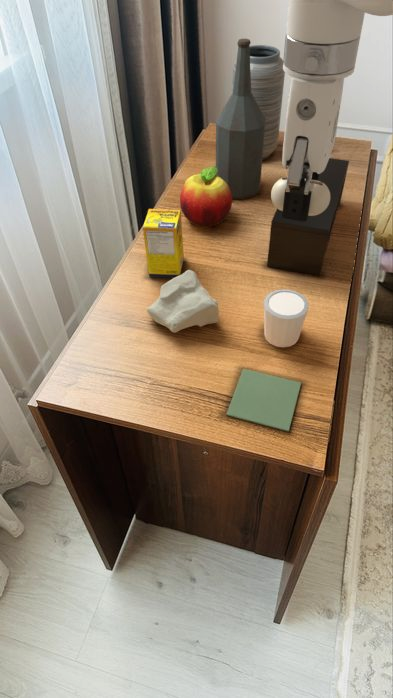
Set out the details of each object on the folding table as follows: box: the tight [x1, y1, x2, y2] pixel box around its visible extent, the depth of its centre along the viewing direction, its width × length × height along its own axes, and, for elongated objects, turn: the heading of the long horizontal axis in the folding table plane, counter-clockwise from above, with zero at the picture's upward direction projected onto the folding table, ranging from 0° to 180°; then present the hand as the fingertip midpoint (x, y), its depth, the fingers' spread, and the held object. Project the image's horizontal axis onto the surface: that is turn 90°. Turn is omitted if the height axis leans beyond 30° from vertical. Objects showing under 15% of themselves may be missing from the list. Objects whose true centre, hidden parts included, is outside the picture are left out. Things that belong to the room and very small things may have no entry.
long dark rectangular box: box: [266, 157, 350, 278], centre depth 97 cm, size 10×26×10 cm, turn 161°
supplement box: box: [142, 208, 185, 278], centre depth 90 cm, size 6×6×11 cm
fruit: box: [179, 165, 233, 228], centre depth 102 cm, size 11×11×10 cm
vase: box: [231, 44, 286, 161], centre depth 117 cm, size 12×12×23 cm
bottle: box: [215, 38, 265, 201], centre depth 103 cm, size 10×10×30 cm
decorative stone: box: [146, 269, 220, 333], centre depth 83 cm, size 11×9×10 cm
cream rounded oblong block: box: [270, 176, 330, 216], centre depth 64 cm, size 8×4×4 cm, turn 70°
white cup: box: [263, 288, 310, 348], centre depth 79 cm, size 7×7×7 cm
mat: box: [226, 368, 302, 432], centre depth 73 cm, size 9×9×1 cm
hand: (299, 207), depth 65 cm, fingers closed on cream rounded oblong block, 4 cm apart
